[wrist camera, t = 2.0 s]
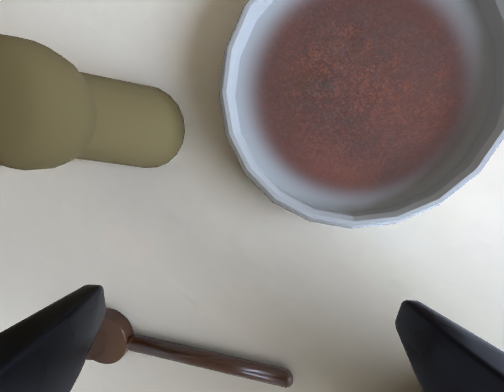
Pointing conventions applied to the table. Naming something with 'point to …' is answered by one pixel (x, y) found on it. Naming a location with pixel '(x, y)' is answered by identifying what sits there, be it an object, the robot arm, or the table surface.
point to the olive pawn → (78, 114)
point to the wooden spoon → (175, 353)
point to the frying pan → (364, 103)
